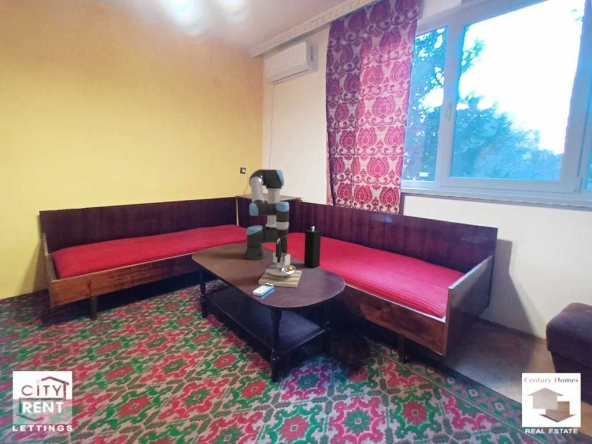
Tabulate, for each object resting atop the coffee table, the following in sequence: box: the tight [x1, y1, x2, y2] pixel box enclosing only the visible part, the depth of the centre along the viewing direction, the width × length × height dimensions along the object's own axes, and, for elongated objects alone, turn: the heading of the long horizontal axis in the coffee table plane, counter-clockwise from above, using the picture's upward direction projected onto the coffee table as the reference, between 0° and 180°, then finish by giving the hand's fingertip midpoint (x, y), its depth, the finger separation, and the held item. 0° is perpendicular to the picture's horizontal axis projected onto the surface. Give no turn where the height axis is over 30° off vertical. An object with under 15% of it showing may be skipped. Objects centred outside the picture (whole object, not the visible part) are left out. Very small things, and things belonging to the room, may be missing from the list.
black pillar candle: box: [303, 225, 322, 269], centre depth 200 cm, size 8×8×28 cm
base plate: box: [258, 269, 302, 288], centre depth 177 cm, size 22×22×5 cm
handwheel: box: [265, 251, 297, 276], centre depth 175 cm, size 18×18×11 cm
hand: (281, 265), depth 176 cm, fingers closed on handwheel, 6 cm apart
